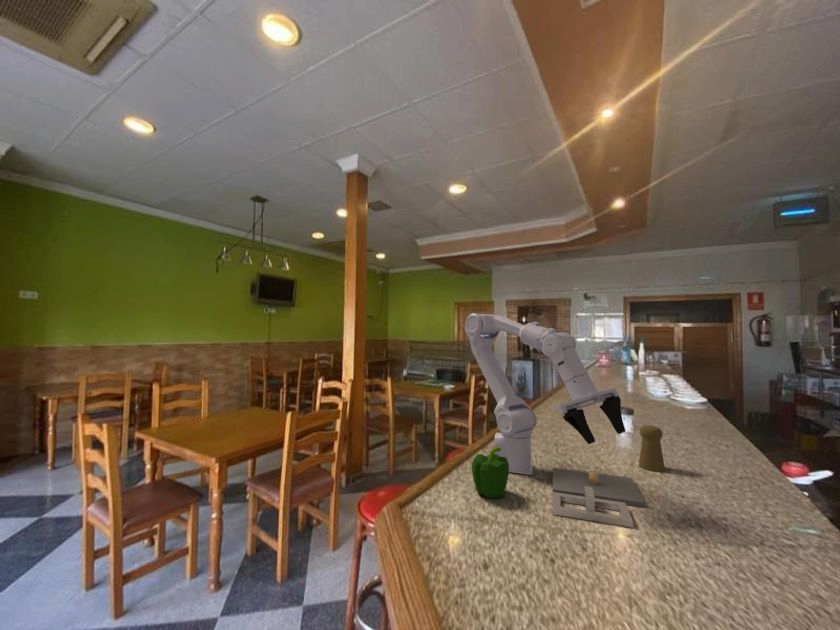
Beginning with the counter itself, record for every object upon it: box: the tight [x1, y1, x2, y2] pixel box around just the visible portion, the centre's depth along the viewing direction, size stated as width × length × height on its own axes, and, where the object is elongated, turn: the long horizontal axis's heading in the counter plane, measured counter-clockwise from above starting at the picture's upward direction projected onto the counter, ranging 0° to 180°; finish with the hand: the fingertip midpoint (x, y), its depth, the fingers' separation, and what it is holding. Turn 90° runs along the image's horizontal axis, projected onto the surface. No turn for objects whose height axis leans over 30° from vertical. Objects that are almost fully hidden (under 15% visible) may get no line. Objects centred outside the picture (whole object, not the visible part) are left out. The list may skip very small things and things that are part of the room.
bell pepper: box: [471, 447, 510, 499], centre depth 82 cm, size 8×8×10 cm
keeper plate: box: [552, 467, 646, 509], centre depth 86 cm, size 18×14×3 cm
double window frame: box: [552, 486, 634, 529], centre depth 75 cm, size 14×8×4 cm, turn 70°
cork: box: [638, 425, 666, 473], centre depth 100 cm, size 6×6×11 cm
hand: (607, 437), depth 79 cm, fingers open, 7 cm apart
